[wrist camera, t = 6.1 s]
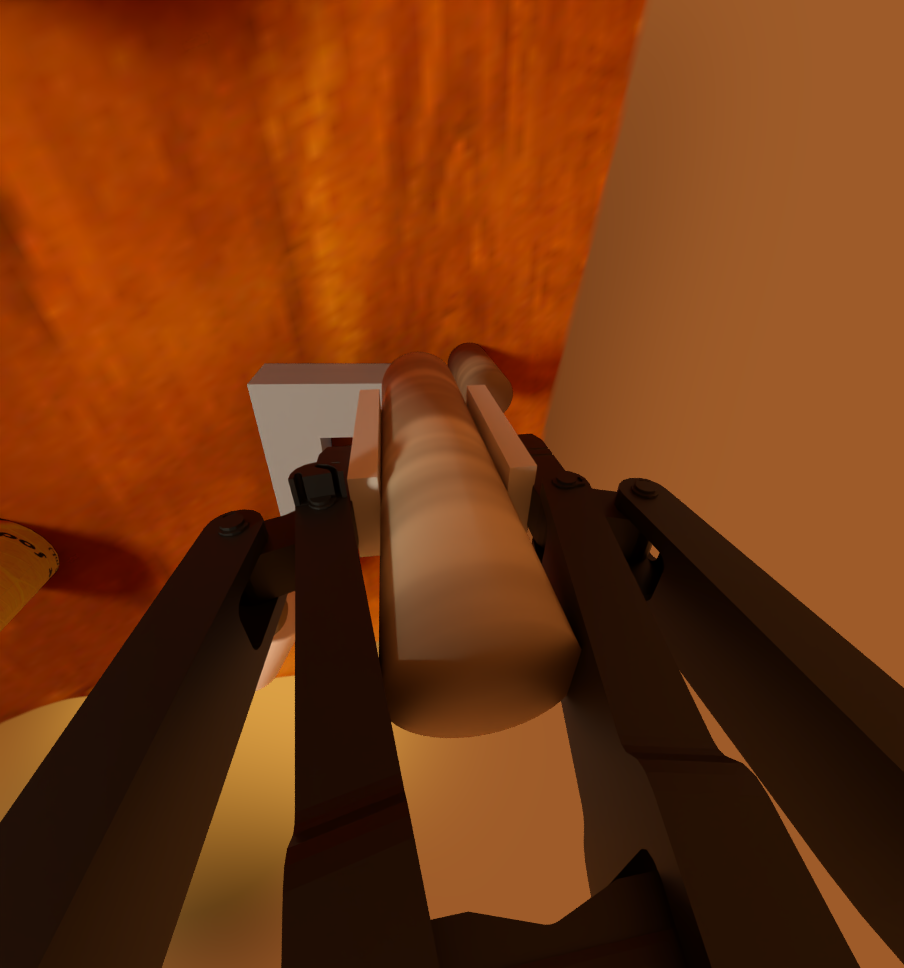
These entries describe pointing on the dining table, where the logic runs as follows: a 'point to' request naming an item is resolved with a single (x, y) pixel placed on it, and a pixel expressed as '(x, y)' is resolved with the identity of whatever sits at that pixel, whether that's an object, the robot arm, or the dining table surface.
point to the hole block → (306, 413)
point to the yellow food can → (22, 567)
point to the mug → (279, 646)
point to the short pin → (479, 373)
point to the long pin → (458, 572)
